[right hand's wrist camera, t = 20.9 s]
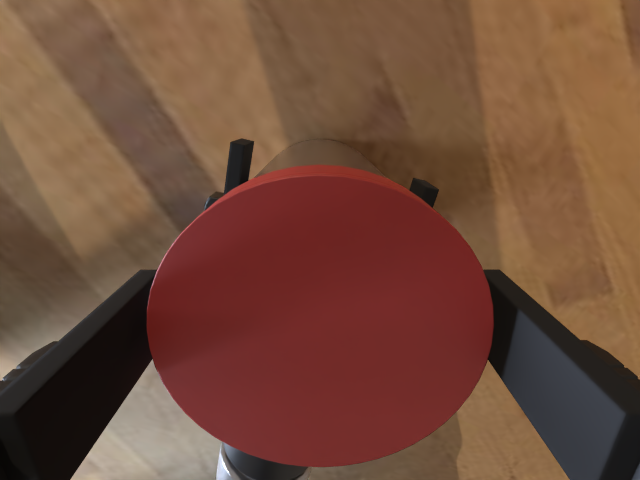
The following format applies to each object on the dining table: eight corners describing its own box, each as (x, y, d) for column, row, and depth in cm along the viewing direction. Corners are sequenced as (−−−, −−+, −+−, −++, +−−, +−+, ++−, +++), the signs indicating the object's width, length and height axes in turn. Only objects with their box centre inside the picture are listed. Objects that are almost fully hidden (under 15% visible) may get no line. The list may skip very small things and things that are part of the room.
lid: (521, 210, 11) (559, 229, 9) (410, 444, 15) (422, 489, 13) (190, 124, 10) (162, 126, 8) (158, 396, 14) (135, 438, 12)
